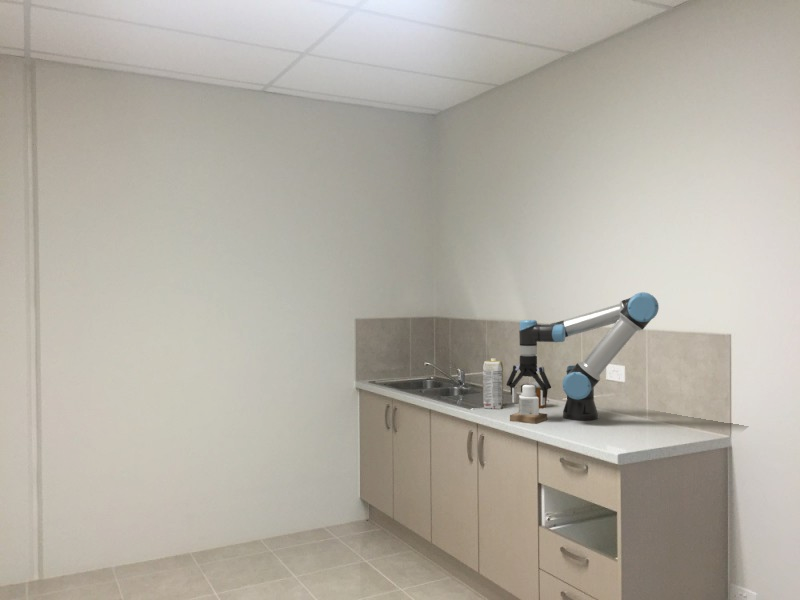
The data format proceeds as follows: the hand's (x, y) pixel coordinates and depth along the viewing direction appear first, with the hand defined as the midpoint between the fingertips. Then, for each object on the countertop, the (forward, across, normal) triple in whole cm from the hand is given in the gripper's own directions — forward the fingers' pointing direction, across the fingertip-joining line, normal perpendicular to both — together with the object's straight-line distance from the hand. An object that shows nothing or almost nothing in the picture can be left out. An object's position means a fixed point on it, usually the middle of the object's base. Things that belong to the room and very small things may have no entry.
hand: (528, 403), depth 306 cm
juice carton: (+7, +28, -19) cm, 35 cm away
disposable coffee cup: (+7, +11, -34) cm, 36 cm away
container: (+5, 0, 0) cm, 5 cm away
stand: (+7, 0, 0) cm, 7 cm away
